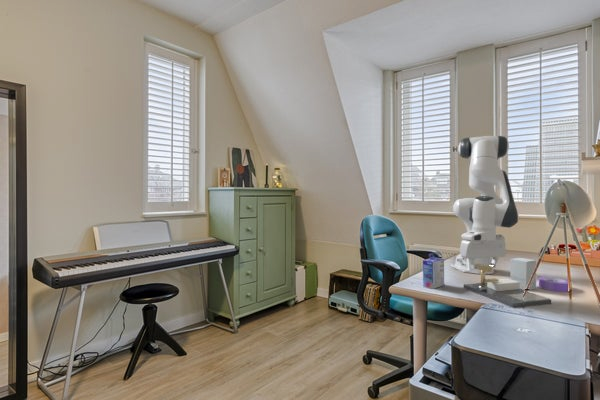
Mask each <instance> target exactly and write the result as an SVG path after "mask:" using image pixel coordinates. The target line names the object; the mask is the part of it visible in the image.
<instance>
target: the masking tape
mask: <svg viewBox="0 0 600 400" xmlns="http://www.w3.org/2000/svg"><path fill="white" fill-rule="evenodd" d="M568 280H569V279H565V278H559V277H555V276H540V277H538V287H539V288H541V289H543V290H546V291H551V292H558V293H568Z"/></svg>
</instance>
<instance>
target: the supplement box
mask: <svg viewBox="0 0 600 400" xmlns="http://www.w3.org/2000/svg"><path fill="white" fill-rule="evenodd" d="M535 266H536V267H537V260H535V259H531V258H530V259H529V258H524V257H513V258H511V259H510V270H509V272H510V273H509V275H510V278H509V279H511V280H515V281H518V282H520V289H522V290H524V291H526V290H525V288H526V286H527V284H528V282H529V280H530V278H531V275H532V274H533V271H534V269H535ZM536 289H537V272H536V273H535V275H534V277H533V280H532V282H531V284H530V287H529V290H528V291H531V290H536Z"/></svg>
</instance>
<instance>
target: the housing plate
mask: <svg viewBox="0 0 600 400" xmlns="http://www.w3.org/2000/svg"><path fill="white" fill-rule="evenodd" d="M463 289H465V290H467V291H470V292H473V293H476V294H478V295H481V296H483V297H486V298H488V299H491V300H492V301H496V302H497V303H498V302H499V303H500V304H502V305H505V306H509V307H511V308H521V307H530V306H539V305H540V306H541V305H551V304H552V299H551V298H549V297H546V296H543V295H540V294H537V293H535V292H530V291H527V293H526V295H525V296H524V297H523V293H524V291H525V290H523V289H517V290H505V291H497V290H494V289H491V288H488V287H487V282H486V283H485V286H481V282H478V283H477V282H475V283H467V284H465V283H464V284H463Z"/></svg>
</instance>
